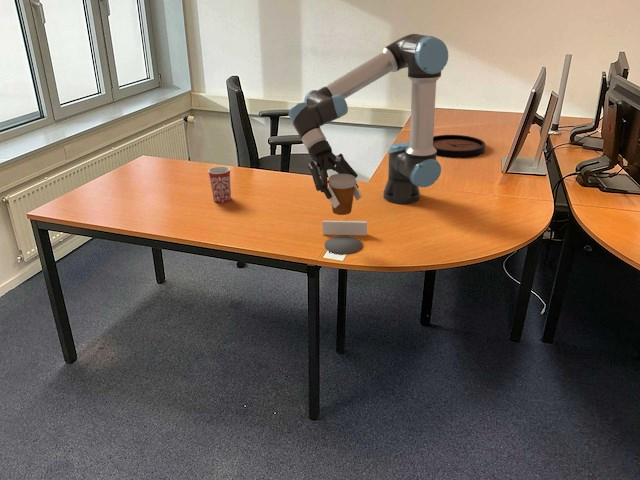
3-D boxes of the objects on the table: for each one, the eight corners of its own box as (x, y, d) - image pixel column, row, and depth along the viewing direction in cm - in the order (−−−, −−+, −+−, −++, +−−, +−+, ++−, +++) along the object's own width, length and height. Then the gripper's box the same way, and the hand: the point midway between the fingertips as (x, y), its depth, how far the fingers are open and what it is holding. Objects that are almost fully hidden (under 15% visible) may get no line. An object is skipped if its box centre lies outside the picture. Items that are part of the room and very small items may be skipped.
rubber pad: (362, 237, 189) (362, 236, 189) (361, 254, 178) (361, 253, 177) (326, 236, 190) (326, 235, 190) (323, 253, 179) (323, 252, 179)
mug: (233, 202, 222) (230, 172, 216) (212, 205, 220) (208, 174, 214) (232, 192, 233) (229, 162, 227) (211, 194, 231) (207, 164, 225)
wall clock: (418, 147, 274) (432, 132, 300) (417, 155, 276) (431, 139, 301) (480, 153, 262) (489, 137, 288) (479, 161, 264) (488, 144, 290)
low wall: (366, 233, 192) (367, 221, 190) (366, 235, 191) (367, 222, 188) (323, 233, 193) (322, 220, 191) (322, 234, 192) (322, 221, 190)
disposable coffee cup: (353, 218, 174) (354, 183, 168) (325, 216, 176) (324, 181, 170) (358, 207, 182) (358, 173, 177) (330, 205, 184) (330, 172, 179)
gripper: (336, 145, 188) (366, 199, 184) (286, 157, 176) (317, 216, 172) (346, 133, 182) (378, 188, 178) (295, 145, 170) (327, 205, 165)
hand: (348, 202), depth 175 cm, fingers closed on disposable coffee cup, 9 cm apart
